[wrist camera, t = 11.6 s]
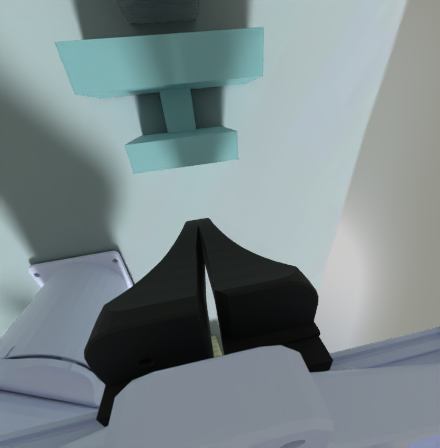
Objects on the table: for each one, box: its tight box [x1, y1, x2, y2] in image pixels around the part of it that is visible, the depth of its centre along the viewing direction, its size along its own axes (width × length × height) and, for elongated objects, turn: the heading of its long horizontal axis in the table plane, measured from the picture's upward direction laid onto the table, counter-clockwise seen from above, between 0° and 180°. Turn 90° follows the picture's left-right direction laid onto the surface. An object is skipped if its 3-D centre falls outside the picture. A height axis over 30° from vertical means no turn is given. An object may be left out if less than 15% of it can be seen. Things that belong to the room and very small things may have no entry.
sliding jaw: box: [55, 27, 264, 174], centre depth 12 cm, size 6×10×5 cm, turn 95°
